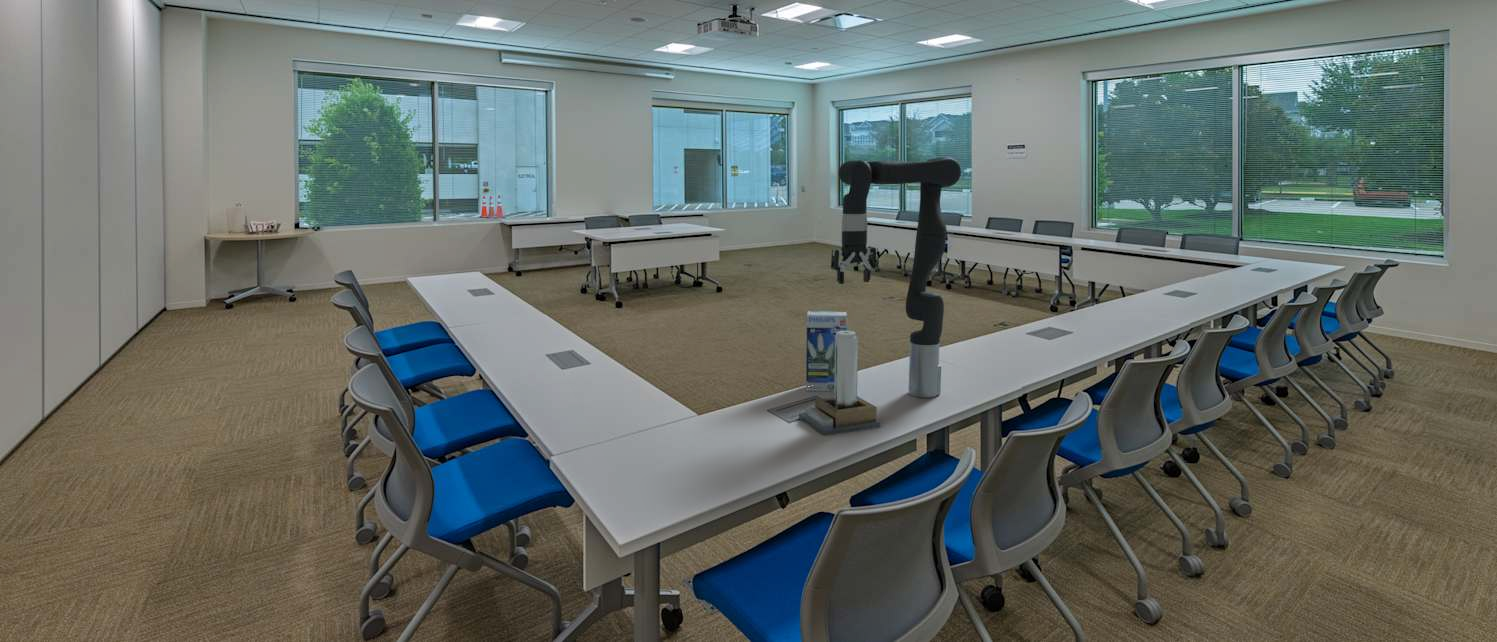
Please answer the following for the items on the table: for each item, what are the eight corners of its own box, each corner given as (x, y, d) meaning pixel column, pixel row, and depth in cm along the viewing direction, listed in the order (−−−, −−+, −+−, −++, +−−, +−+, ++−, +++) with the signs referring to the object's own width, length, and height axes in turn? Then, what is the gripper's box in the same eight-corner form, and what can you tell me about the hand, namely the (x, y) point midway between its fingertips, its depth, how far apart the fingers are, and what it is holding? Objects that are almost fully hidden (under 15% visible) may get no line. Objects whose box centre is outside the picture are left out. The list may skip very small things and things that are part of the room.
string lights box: (806, 391, 242) (806, 315, 237) (806, 385, 250) (806, 310, 245) (846, 392, 241) (847, 315, 236) (845, 385, 248) (846, 310, 243)
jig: (853, 410, 222) (853, 393, 221) (880, 426, 207) (880, 408, 206) (799, 418, 216) (799, 400, 215) (823, 435, 201) (823, 416, 200)
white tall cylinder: (856, 420, 208) (857, 334, 204) (833, 419, 210) (833, 334, 205) (857, 413, 215) (858, 329, 210) (835, 412, 216) (835, 329, 211)
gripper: (868, 227, 224) (868, 279, 227) (827, 229, 219) (826, 282, 222) (881, 228, 217) (880, 283, 220) (838, 230, 212) (838, 286, 215)
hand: (853, 282), depth 221 cm, fingers open, 8 cm apart
